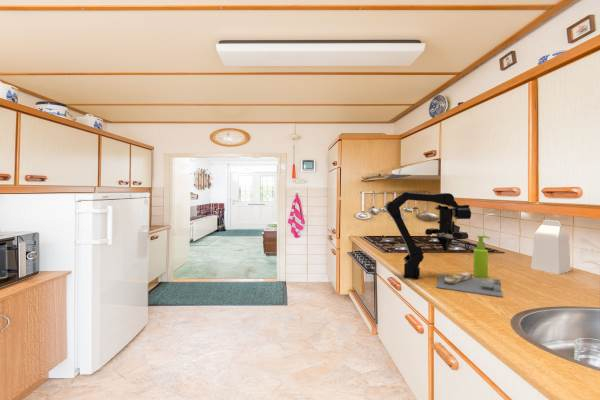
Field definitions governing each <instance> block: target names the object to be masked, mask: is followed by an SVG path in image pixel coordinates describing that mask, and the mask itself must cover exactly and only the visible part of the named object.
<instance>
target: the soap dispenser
mask: <svg viewBox="0 0 600 400" xmlns="http://www.w3.org/2000/svg"><path fill="white" fill-rule="evenodd" d="M476 238H478V241H477V242H476V248H473V277H474V278H479V279H481V277H482V278H489V277H488V275H489V273H488V272H489V270H488V269H489V267H488V265H489V263H488V261H489V260H488V259H489V250H488V249H486V242H484V239H488V240H489V239H491V236H486V235H477V236H476Z"/></svg>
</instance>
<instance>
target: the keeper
mask: <svg viewBox="0 0 600 400" xmlns="http://www.w3.org/2000/svg"><path fill="white" fill-rule="evenodd" d="M480 279H481V282H482V283H486V284H493V290H494V291H498V292H502V283H501V280H500V279H497V278H489V277H487V278H482V277H481V278H480Z"/></svg>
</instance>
